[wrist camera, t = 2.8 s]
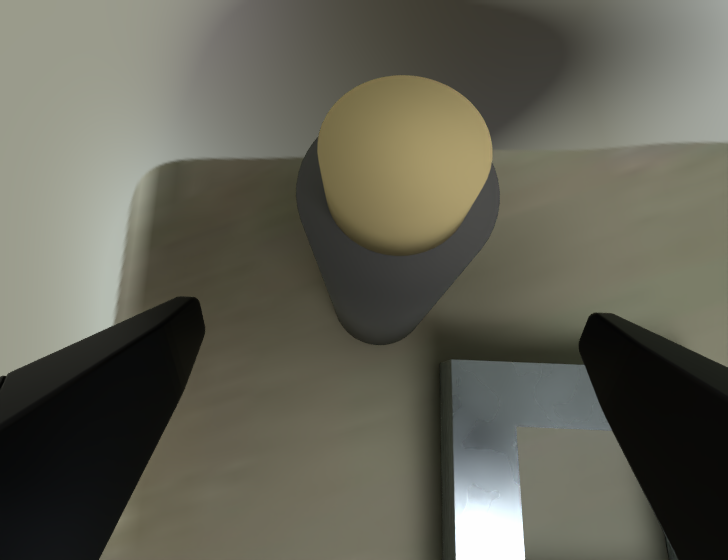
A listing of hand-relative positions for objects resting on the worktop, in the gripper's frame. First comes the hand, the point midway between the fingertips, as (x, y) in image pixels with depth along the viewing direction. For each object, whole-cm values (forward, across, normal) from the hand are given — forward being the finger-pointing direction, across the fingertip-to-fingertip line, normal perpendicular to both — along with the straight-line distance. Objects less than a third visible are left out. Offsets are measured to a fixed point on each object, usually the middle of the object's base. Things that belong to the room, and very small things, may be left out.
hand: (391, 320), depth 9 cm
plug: (+9, 0, +5) cm, 10 cm away
